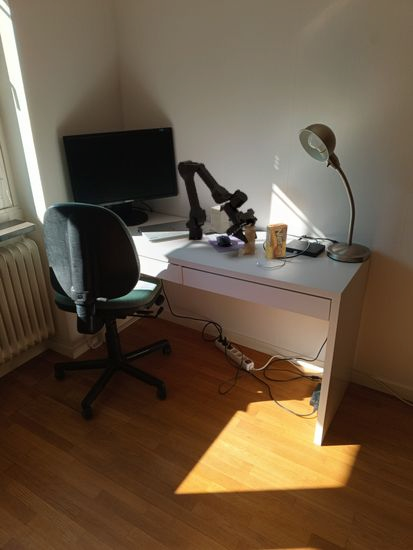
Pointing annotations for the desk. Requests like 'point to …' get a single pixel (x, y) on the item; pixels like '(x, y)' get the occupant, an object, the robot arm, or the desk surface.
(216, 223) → the small box
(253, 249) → the walnut block
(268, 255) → the candy box
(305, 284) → the desk surface
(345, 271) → the desk surface
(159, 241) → the desk surface
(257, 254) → the grey flat square plate
